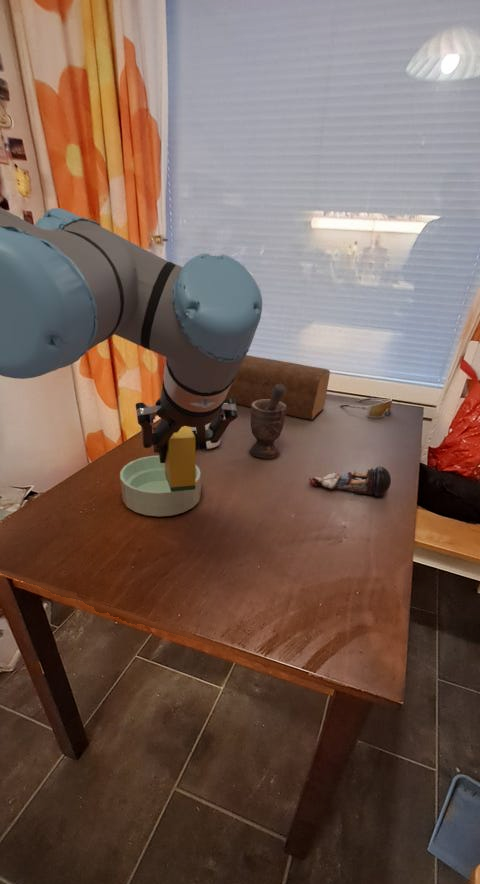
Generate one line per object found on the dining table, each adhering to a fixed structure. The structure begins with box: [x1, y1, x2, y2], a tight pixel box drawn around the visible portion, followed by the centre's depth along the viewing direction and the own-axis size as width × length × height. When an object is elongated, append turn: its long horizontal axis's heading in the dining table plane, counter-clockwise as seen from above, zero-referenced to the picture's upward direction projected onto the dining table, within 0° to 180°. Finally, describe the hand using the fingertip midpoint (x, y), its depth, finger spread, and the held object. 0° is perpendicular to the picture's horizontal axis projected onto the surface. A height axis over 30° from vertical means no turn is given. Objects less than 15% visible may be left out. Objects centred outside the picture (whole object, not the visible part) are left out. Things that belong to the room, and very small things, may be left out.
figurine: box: [308, 465, 392, 497], centre depth 96 cm, size 8×7×18 cm
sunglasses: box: [340, 397, 393, 419], centre depth 142 cm, size 14×15×5 cm
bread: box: [224, 354, 331, 421], centre depth 138 cm, size 14×34×14 cm, turn 65°
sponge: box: [165, 426, 197, 492], centre depth 67 cm, size 4×6×9 cm, turn 17°
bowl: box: [119, 455, 202, 518], centre depth 88 cm, size 16×16×6 cm
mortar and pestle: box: [249, 384, 286, 460], centre depth 103 cm, size 12×9×20 cm
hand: (175, 454), depth 71 cm, fingers closed on sponge, 4 cm apart
